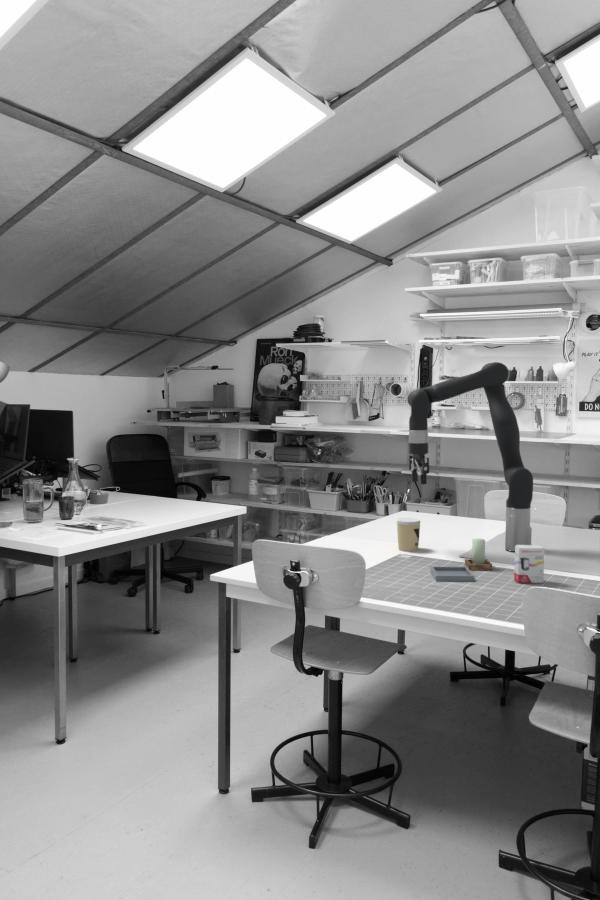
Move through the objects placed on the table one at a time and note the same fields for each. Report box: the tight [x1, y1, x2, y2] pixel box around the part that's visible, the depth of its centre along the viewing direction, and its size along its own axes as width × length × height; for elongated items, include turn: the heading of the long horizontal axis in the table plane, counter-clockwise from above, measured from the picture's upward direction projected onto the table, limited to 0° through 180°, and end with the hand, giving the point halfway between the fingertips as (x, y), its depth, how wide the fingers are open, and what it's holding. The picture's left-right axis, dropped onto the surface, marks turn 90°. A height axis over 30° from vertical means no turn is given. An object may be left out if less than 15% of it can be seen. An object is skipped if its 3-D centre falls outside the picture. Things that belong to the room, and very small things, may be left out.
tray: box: [430, 565, 475, 582], centre depth 242 cm, size 13×13×2 cm
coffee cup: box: [396, 517, 421, 553], centre depth 282 cm, size 9×9×12 cm
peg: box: [471, 538, 486, 564], centre depth 253 cm, size 4×4×10 cm
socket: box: [464, 558, 493, 571], centre depth 254 cm, size 8×8×2 cm
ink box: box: [513, 544, 545, 584], centre depth 235 cm, size 9×5×12 cm, turn 89°
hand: (419, 482), depth 277 cm, fingers open, 8 cm apart
